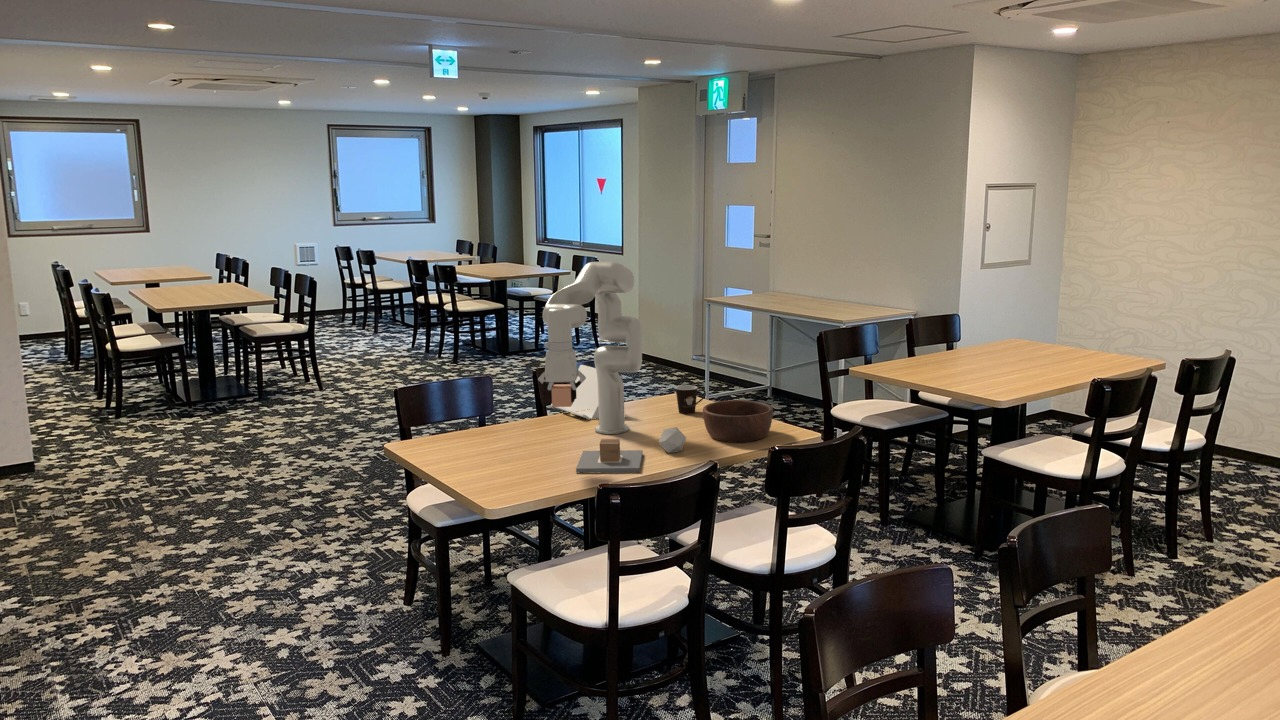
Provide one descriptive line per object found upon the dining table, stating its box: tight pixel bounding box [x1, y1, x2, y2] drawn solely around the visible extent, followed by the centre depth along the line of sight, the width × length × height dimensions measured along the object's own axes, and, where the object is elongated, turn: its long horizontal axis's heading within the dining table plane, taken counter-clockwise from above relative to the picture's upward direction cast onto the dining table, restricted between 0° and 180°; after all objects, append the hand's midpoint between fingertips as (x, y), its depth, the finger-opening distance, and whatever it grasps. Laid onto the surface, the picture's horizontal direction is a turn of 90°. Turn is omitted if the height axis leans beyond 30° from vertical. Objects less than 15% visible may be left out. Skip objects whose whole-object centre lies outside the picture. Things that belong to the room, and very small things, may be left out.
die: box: [658, 426, 687, 454], centre depth 320 cm, size 8×9×10 cm
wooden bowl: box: [702, 399, 774, 443], centre depth 337 cm, size 25×25×10 cm
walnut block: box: [599, 438, 621, 462], centre depth 307 cm, size 6×6×6 cm
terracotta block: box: [551, 383, 573, 408], centre depth 304 cm, size 6×6×6 cm
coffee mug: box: [675, 384, 707, 415], centre depth 372 cm, size 12×9×10 cm
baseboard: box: [575, 449, 644, 474], centre depth 308 cm, size 20×20×2 cm
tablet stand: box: [550, 364, 599, 421], centre depth 377 cm, size 18×25×17 cm
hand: (562, 400), depth 304 cm, fingers closed on terracotta block, 6 cm apart
